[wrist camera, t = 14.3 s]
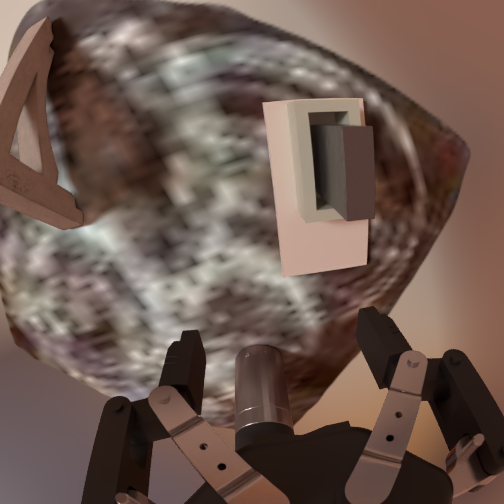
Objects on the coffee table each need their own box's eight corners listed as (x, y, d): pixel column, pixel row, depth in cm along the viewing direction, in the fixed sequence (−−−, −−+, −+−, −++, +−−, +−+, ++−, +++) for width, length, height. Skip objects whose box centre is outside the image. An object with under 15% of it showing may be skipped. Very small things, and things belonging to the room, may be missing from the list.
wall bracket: (99, 87, 45) (82, 225, 40) (82, 94, 45) (63, 230, 40) (47, 16, 23) (-21, 173, 18) (28, 28, 23) (-38, 185, 18)
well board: (364, 261, 46) (379, 281, 40) (282, 274, 46) (288, 297, 40) (359, 98, 35) (379, 96, 29) (262, 103, 35) (266, 99, 29)
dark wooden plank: (307, 124, 35) (342, 126, 23) (328, 123, 35) (372, 126, 23) (312, 188, 39) (346, 221, 26) (333, 186, 39) (374, 218, 26)
